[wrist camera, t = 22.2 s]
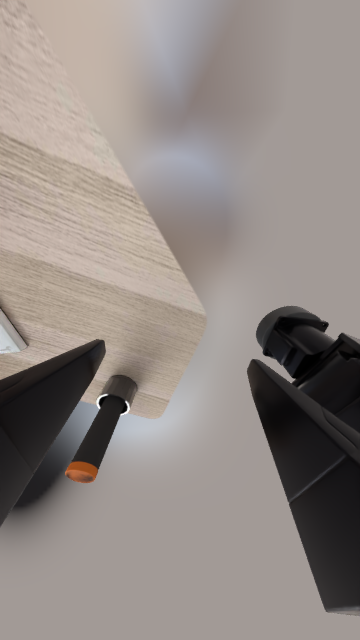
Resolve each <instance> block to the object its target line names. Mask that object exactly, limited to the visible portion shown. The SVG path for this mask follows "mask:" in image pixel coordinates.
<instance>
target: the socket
mask: <svg viewBox="0 0 360 640" xmlns="http://www.w3.org/2000/svg"><path fill="white" fill-rule="evenodd" d="M136 391H137V386H136V383H135V382H134V381H133V380H132V379H130V378H128V377H126V376H122V375H116V376H113V377H111V378H109V380H108V381H107V382H106V384H105V386H104V388H103V389H102V391H101V393H100V394H99V396H98V398H97V401H96V404H97V406H98V408H99V409H100V408H101V406H102V404H103V402H104V401H105V399H106V397H107V396H115V397H119V398H120V399H122V400H124V401H125V404H124V407H123V409H122V412H121V414H120V416H121V415H125V414H127V413H128V412H129V411H130V408H131V405H132V402H133V399H134V396H135V394H136Z"/></svg>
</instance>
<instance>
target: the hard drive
mask: <svg viewBox="0 0 360 640" xmlns="http://www.w3.org/2000/svg"><path fill="white" fill-rule="evenodd" d="M25 348H27V345H26V344H25V342H24V341H23V340H22V338H21V337H20V335H19V334H18V333H17V331H16V330H15V328H14V327H13V326H12V324H11V323H10V321H9V320H8V319H7V317H6V316H5V314H4V313H3V312H2V310H1V309H0V354H1V353H11V352H19V351H22V350H24V349H25Z"/></svg>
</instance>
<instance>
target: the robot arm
mask: <svg viewBox="0 0 360 640" xmlns="http://www.w3.org/2000/svg"><path fill="white" fill-rule="evenodd" d="M281 319H283V320H281ZM323 324H324V325H323ZM322 325H323V326H322ZM328 325H329V324H328V322H326V321H322V320H314V319H306V318H299V317H291V316H283V315H281V316H279V317H278V319H277V321H276V323H275V325H274V327H273V330H272V331H271V333H270V335H269V337H268V340H267V342H266V344H265V347H264V349H263V354H264V355H265V356H269V357H275V359H276V360H277V361H278V362H279V364H280V365H283V366H284V368H285V369H286V370H287V372H288V373H289V374H290V376H291V377H292V378H294V379H295V381H293V382H292V383H290V382H288V381H287V380H286V379H284V378H283V377H282V376H280V375H279V374H278V373H276V372H275V371H274V370H272V369H271V368H270V367H268V366H266V364H264V363H263V362H261V361H260V360H257V359H252V360H251V362H250V364H249V367H248V369H247V374H248V379H249V383H250V387H251V391H252V396H253V399H254V402H255V405H256V408H257V411H258V414H259V417H260V420H261V423H262V426H263V429H264V432H265V435H266V438H267V440H268V443H269V447H270V450H271V452H272V455H273V458H274V461H275V464H276V467H277V470H278V473H279V476H280V479H281V482H282V485H283V488H284V491H285V494H286V496H287V500H288V502H289V506H290V509H291V512H292V515H293V518H294V520H295V524H296V526H297V530H298V532H299V535H300V538H301V541H302V544H303V547H304V550H305V553H306V556H307V559H308V562H309V565H310V568H311V571H312V574H313V576H314V580H315V583H316V585H317V588H318V591H319V594H320V597H321V600H322V603H323V605H324V608H325V610H326V612H329V613H337V614H346V615H355V616H360V339H357V338H355V337H352V336H350V335H347V334H345V333H341V334H340V335H339V336H338V337H339V338H338V339H337V340H336V341H335V340H334V339H332V338H331V337H329V336H328V335H326V334H325V333H324V332H325V330H326V329H327V327H328ZM266 352H267V353H266ZM105 353H106V349H105V342H104V340H99V339H96V340H94V341H91V342H89V343H87V344H84V345H82V346H80V347H77V348H75V349H73V350H70V351H68V352H66V353H63V354H61V355H59V356H56V357H54V358H51V359H49V360H47V361H44V362H42V363H40V364H37V365H35V366H33V367H30V368H28V369H26V370H23V371H21V372H19V373H16V374H14V375H11V376H9V377H7V378H4V379H2V380H0V526H1V525H2V524H3V522H4V520H5V519H6V517H7V515H8V514H9V512H10V511H11V509H12V508H13V506H14V504H15V503H16V501H17V500H18V498H19V497H20V495H21V493H22V492H23V490H24V488H25V487H26V485H27V484H28V482H29V481H30V479H31V477H32V475H33V474H34V472H35V471H36V469H37V468H38V466H39V464H40V463H41V461H42V460H43V458H44V456H45V455H46V453H47V452H48V450H49V448H50V447H51V445H52V444H53V442H54V440H55V439H56V437H57V436H58V434H59V432H60V431H61V429H62V427H63V426H64V424H65V423H66V421H67V420H68V418H69V416H70V414H71V413H72V412H73V410H74V409H75V407H76V405H77V404H78V402H79V401H80V399H81V397H82V396H83V394H84V393H85V391H86V389H87V388H88V386H89V385H90V383H91V381H92V380H93V378H94V376H95V374H96V372H97V370H98V368H99V366H100V364H101V362H102V360H103V358H104V356H105Z"/></svg>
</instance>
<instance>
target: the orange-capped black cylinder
mask: <svg viewBox="0 0 360 640" xmlns="http://www.w3.org/2000/svg"><path fill="white" fill-rule="evenodd" d="M124 404H125V401H124V400H122V399H120V398H119V397H115V396H107V397H106V399H105V401H104V402H103V404H102V406H101V408H100V410H99V412H98V414H97V416H96V417H95V419H94V421H93V423H92V425H91V427H90V429H89V430H88V432H87V434H86V436H85V438H84V440H83V442H82V443H81V445H80V447H79V449H78V451H77V453H76V455H75V456H74V459H73V460H72V462H71V464H70V465H69V467H68V468H67V471H66V473H65V474H66V476H67V477H68V478H70V479H71V480H73V481H77V482H81V483H90V482H93V481H94V480H95V478H96V475H97V473H98V469H99V467H100V464H101V462H102V459H103V457H104V454H105V452H106V449H107V447H108V444H109V442H110V439H111V437H112V434H113V432H114V429H115V427H116V424H117V422H118V419H119V417H120V414H121V412H122V409H123V407H124Z"/></svg>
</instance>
